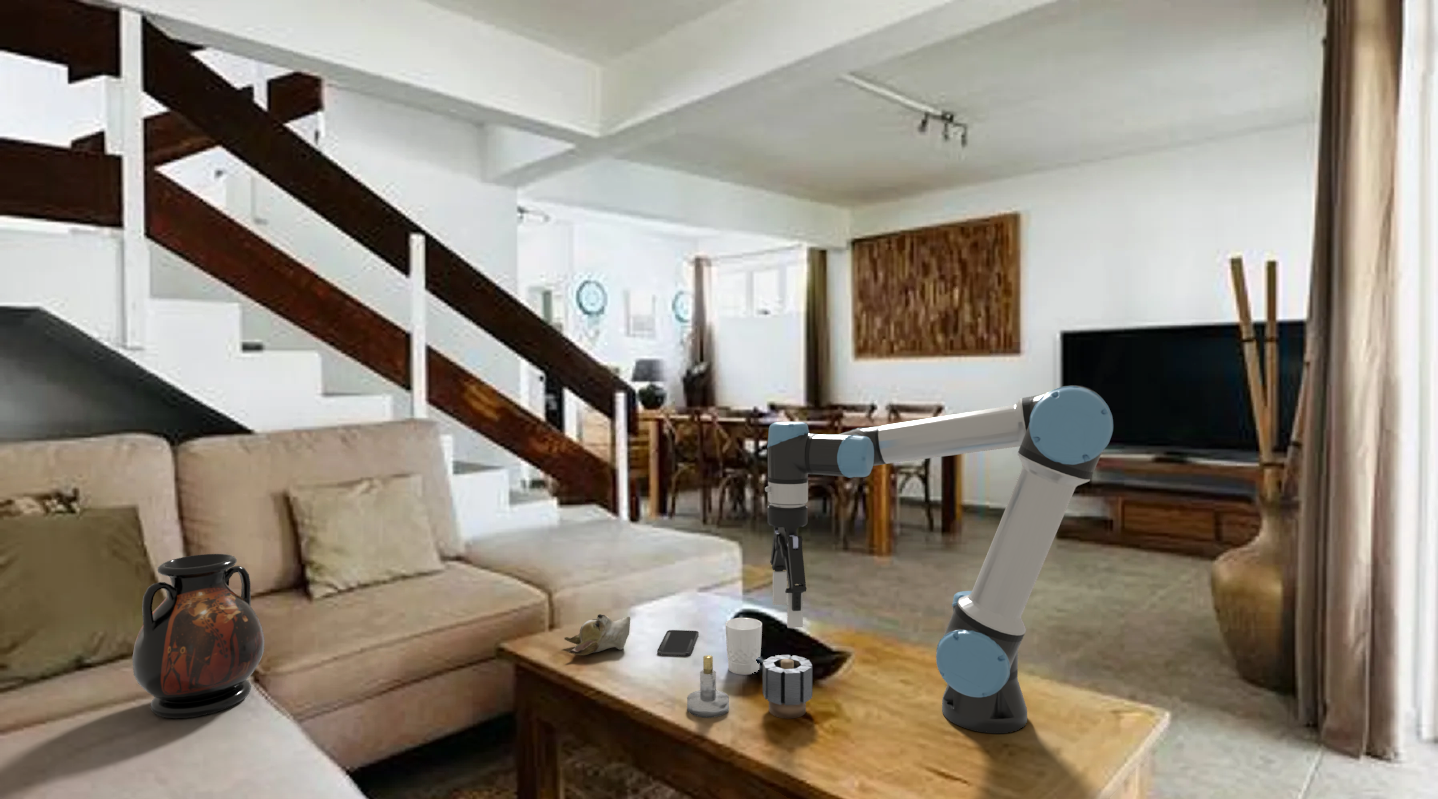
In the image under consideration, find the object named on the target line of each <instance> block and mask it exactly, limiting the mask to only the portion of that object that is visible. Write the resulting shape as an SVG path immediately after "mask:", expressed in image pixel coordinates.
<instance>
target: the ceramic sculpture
mask: <svg viewBox="0 0 1438 799" xmlns="http://www.w3.org/2000/svg"><path fill="white" fill-rule="evenodd" d="M630 627H631V617H630V616H626V617H624V618H620V619H618V620H612V619H611V618H610V617H609V616H608V615H605V614H597V617H596V618H592V619H588V620H586V621H585V622H584V623H583V624H582V626H581V627H580V630H579V633H578V634H575V635H574V636H572V637H571V636H565V637H563V638H564V640H565V641H567V642H569V643H571V644H574V645H575V647H574V648H573V649H570V650H568V653H569V654H572V655H578V656H586V655H587V656H588V655H590V654H592V653H593V654H595V653H598V652H603V651H605V650H607V649H610V648H616V649H618V650H623V649H624V648H625V645H626V642H627V639H628V638H629V635H630V629H631V628H630Z"/></svg>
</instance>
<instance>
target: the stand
mask: <svg viewBox="0 0 1438 799" xmlns="http://www.w3.org/2000/svg"><path fill="white" fill-rule="evenodd" d="M781 668H782V669H794V661H793V660H791V659H783V660H781ZM806 703H807V702H805V703H804V704H803V703H800V705H784V703H783V704H781V705H779V704H776V703H773V702H770V701H768V711H769V713H770V714H771V715H772V716H773V717H777V718H780V719H787V720H788V719H797V718H800V717H802V716H804V715H805V714H806V711H807V710H806V709H807V707H806V706H807V704H806Z"/></svg>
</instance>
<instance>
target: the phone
mask: <svg viewBox="0 0 1438 799" xmlns="http://www.w3.org/2000/svg"><path fill="white" fill-rule="evenodd" d="M699 634H700V632H699V631H697V630H685V629H681V630H680V629H669V630H667V631H666V633H665V635H664V637H663V639H662V640H661V642H660V644H659V646H658V648H657V654H656V655H658V656H662V657H663V656H667V657H668V656H669V657H690V656H692V653H693V652H694V649H695V646H696V643H697V642H698V641H697V640H698V638H699V637H700V636H699Z"/></svg>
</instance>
